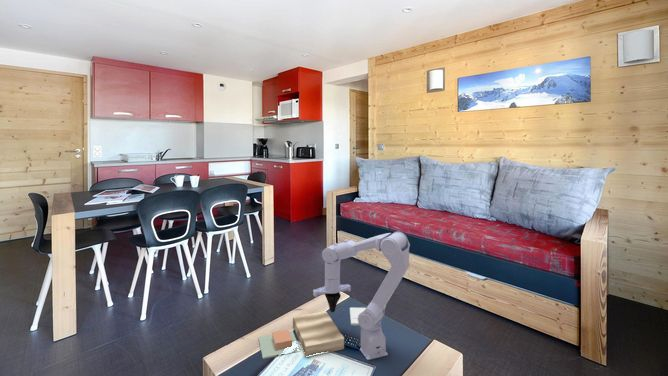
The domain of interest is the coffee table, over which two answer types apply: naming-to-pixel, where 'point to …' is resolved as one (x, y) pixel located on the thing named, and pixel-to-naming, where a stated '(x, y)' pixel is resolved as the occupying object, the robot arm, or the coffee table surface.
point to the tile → (281, 339)
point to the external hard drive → (355, 315)
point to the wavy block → (317, 333)
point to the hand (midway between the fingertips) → (332, 310)
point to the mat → (272, 346)
